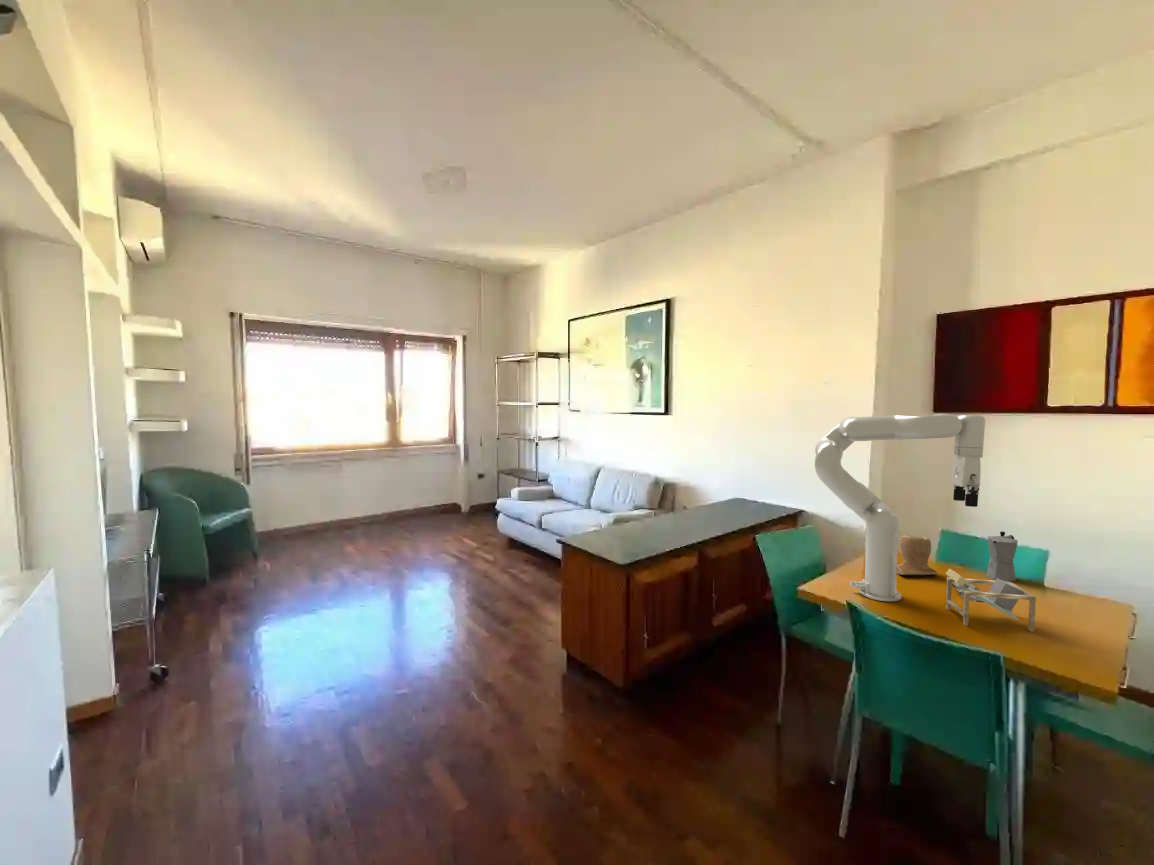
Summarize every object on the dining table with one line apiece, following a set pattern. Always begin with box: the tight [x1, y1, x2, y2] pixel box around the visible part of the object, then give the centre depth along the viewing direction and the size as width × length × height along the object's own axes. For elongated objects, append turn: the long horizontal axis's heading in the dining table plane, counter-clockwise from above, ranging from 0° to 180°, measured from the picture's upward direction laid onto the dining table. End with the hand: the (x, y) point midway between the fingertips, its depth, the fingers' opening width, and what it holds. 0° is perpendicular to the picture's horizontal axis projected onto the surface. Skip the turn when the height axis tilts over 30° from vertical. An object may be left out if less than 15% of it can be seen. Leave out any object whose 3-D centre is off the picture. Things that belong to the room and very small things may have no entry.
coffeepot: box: [986, 531, 1019, 583], centre depth 192 cm, size 15×9×18 cm, turn 118°
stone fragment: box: [952, 582, 984, 603], centre depth 182 cm, size 25×3×10 cm
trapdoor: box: [945, 568, 1018, 621], centre depth 156 cm, size 18×10×3 cm, turn 74°
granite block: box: [987, 578, 1024, 612], centre depth 155 cm, size 5×5×7 cm
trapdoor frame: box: [945, 576, 1037, 633], centre depth 156 cm, size 18×13×10 cm
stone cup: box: [897, 534, 939, 576], centre depth 198 cm, size 15×12×15 cm
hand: (964, 503), depth 166 cm, fingers open, 9 cm apart
